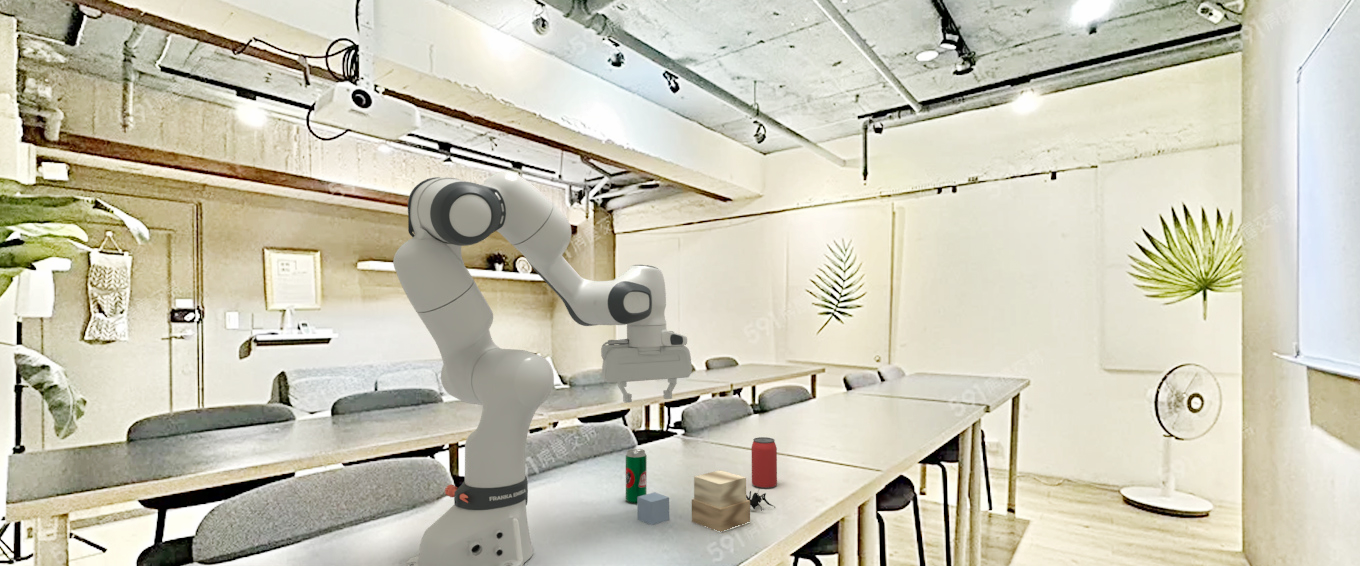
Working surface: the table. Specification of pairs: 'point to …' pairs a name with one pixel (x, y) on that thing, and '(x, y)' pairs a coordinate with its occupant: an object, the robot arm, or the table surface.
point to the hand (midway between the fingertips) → (647, 400)
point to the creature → (757, 500)
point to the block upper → (720, 489)
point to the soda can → (636, 474)
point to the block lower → (720, 515)
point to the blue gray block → (653, 508)
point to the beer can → (764, 462)
